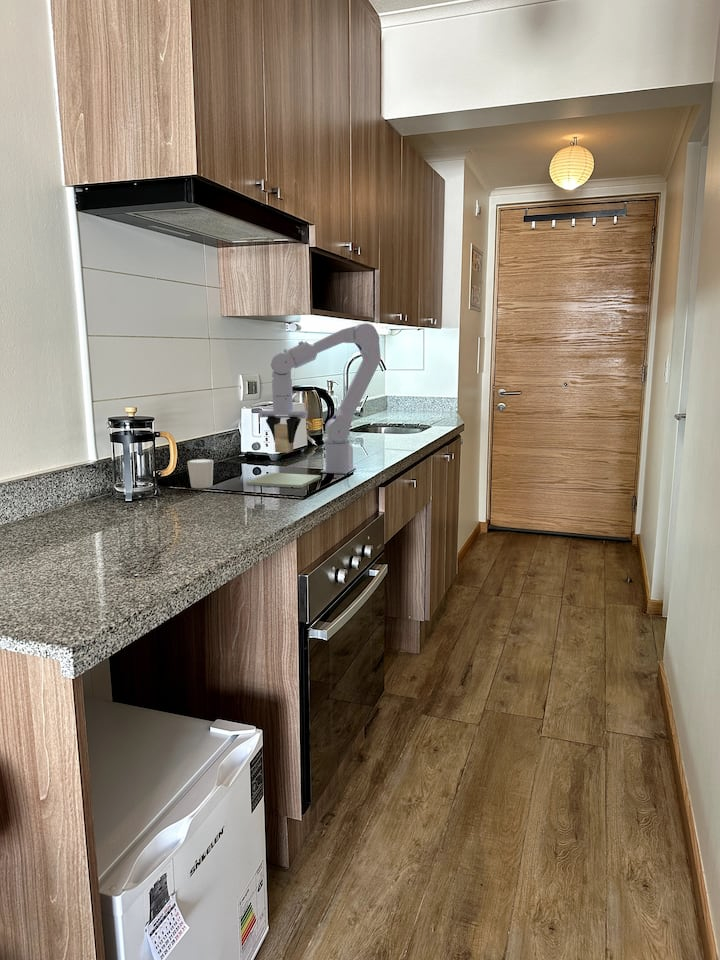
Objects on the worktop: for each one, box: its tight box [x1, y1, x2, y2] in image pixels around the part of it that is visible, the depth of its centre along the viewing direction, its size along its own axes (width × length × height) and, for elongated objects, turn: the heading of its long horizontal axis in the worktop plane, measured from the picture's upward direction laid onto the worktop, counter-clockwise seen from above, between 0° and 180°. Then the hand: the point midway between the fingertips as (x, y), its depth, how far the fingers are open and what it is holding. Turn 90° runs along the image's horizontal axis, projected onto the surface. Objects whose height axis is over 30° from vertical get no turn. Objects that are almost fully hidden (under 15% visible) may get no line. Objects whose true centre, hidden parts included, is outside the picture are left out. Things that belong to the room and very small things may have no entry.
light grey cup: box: [187, 458, 214, 489], centre depth 181 cm, size 7×7×7 cm
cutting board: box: [246, 472, 322, 489], centre depth 187 cm, size 14×16×1 cm
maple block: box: [274, 422, 294, 454], centre depth 197 cm, size 4×4×8 cm
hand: (284, 442), depth 197 cm, fingers closed on maple block, 4 cm apart
